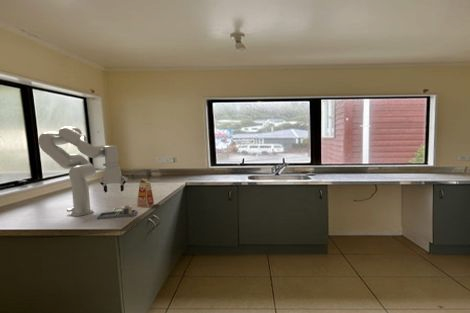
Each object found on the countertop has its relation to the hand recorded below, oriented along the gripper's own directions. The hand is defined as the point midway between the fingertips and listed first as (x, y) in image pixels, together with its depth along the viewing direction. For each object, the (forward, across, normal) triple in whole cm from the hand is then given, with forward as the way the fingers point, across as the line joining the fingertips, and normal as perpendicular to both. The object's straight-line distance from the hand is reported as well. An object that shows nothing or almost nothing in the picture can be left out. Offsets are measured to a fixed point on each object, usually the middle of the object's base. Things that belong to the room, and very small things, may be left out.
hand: (114, 191), depth 173 cm
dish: (+14, +2, +6) cm, 15 cm away
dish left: (+14, -3, -6) cm, 16 cm away
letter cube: (+14, +8, -5) cm, 17 cm away
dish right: (+14, +8, -5) cm, 17 cm away
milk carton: (+15, +16, +16) cm, 27 cm away
